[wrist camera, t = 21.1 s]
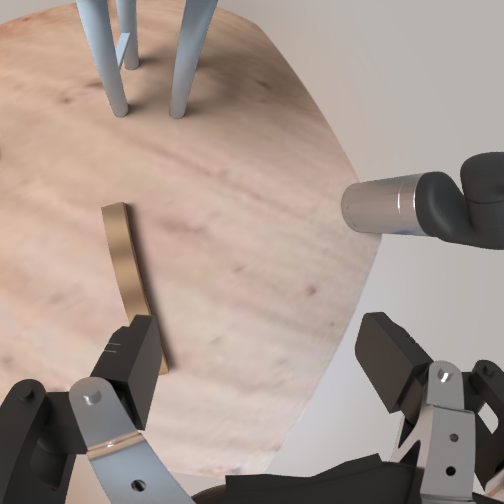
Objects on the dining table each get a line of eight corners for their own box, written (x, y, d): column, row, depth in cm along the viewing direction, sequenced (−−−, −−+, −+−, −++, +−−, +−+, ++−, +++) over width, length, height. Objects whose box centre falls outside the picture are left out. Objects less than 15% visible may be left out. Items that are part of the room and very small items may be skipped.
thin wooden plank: (105, 208, 36) (101, 207, 33) (125, 203, 37) (122, 202, 34) (149, 367, 40) (149, 377, 37) (168, 363, 41) (168, 373, 38)
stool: (113, 45, 32) (100, -102, 2) (213, 50, 38) (287, -94, 8) (89, 137, 34) (-8, 0, 3) (202, 140, 39) (297, -13, 9)
